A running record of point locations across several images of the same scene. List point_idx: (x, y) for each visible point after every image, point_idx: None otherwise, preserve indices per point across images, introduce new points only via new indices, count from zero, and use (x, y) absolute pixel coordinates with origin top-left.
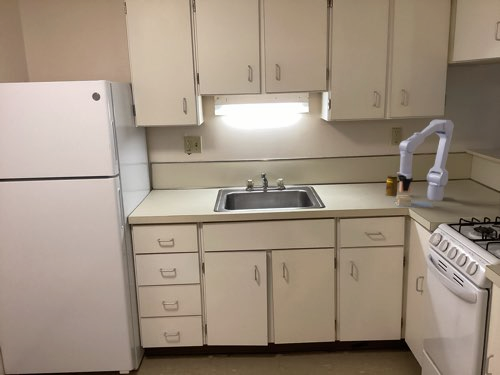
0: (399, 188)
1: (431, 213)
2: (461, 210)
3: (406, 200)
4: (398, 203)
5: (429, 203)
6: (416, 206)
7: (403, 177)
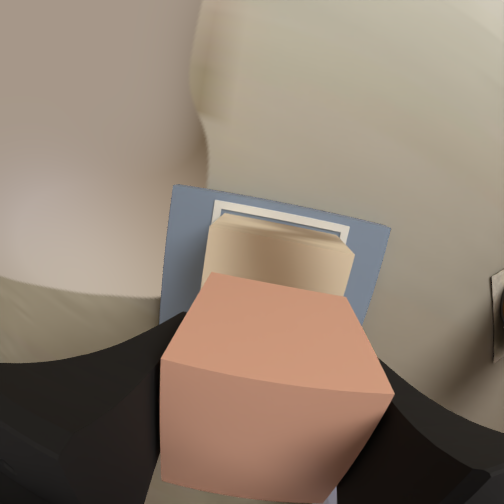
0: (337, 311)
1: (71, 352)
2: (150, 482)
3: None
4: (242, 218)
5: None
6: None
7: (41, 485)
